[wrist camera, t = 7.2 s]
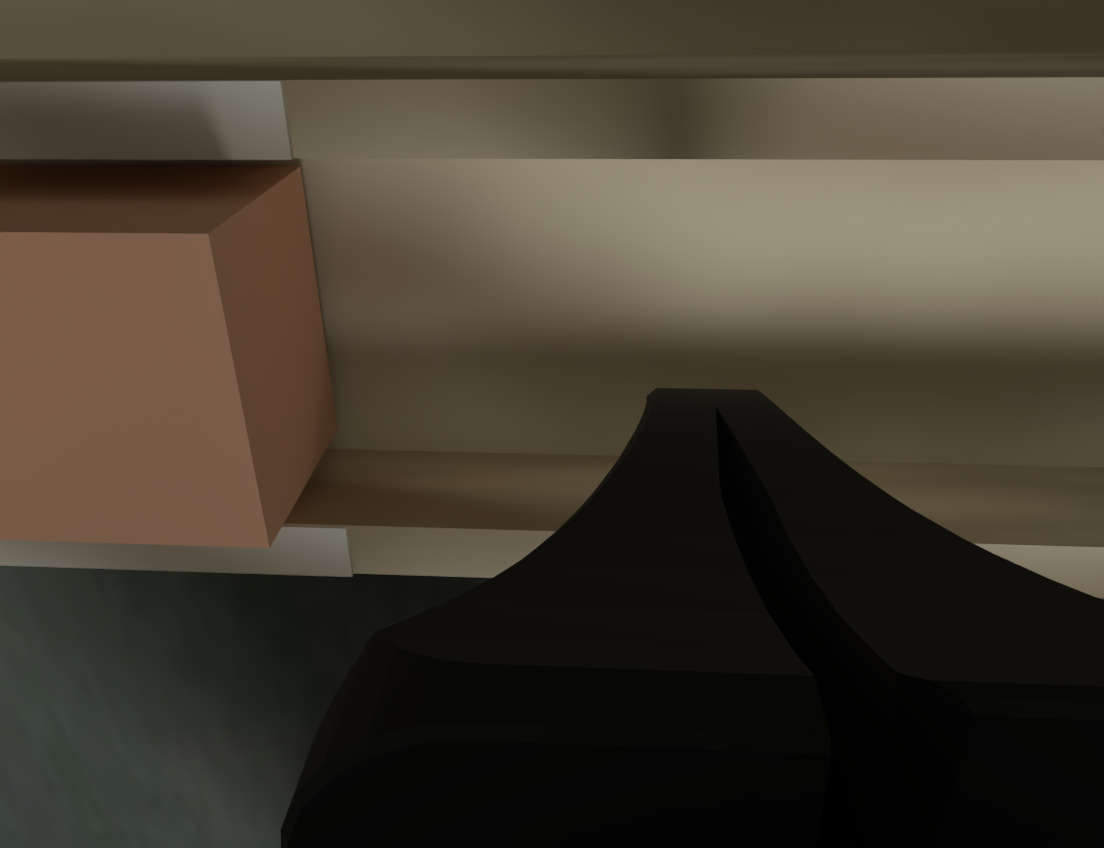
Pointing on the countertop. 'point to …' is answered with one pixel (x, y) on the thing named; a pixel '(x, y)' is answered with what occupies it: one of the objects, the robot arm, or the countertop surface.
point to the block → (158, 354)
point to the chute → (633, 244)
